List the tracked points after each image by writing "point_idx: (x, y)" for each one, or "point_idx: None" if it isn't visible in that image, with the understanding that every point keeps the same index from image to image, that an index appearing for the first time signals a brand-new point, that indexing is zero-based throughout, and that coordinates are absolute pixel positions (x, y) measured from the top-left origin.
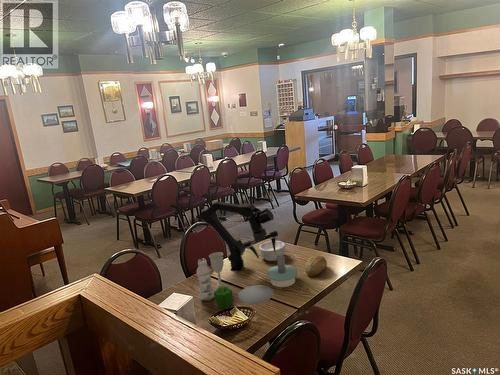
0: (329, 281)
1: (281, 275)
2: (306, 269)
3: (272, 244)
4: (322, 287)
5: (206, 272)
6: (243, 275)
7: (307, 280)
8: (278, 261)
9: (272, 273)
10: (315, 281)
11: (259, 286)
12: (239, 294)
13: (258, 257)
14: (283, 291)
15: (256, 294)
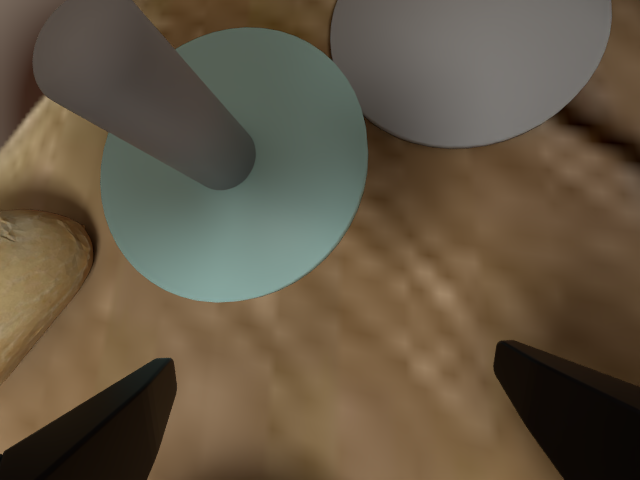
0: (10, 160)
1: (234, 87)
2: (55, 241)
3: None
4: None
5: None
6: (623, 365)
7: None
8: (169, 43)
9: (312, 131)
10: (74, 169)
11: (438, 120)
12: (601, 13)
13: (510, 344)
14: None
15: (454, 12)
